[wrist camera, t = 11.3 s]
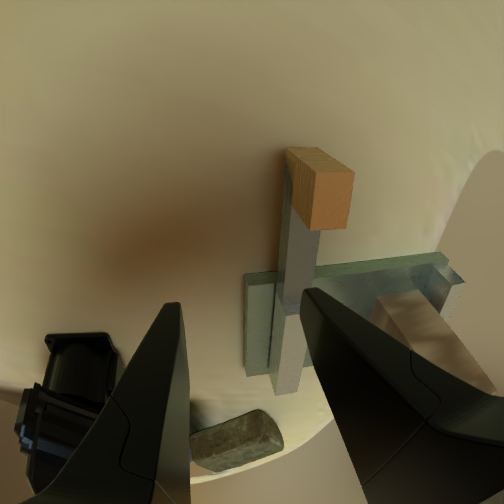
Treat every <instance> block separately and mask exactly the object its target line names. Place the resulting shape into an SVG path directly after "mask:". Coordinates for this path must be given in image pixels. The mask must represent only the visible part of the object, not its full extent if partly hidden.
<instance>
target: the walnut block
mask: <svg viewBox="0 0 504 504" xmlns="http://www.w3.org/2000/svg"><path fill="white" fill-rule="evenodd" d="M369 321H370V322H371V323H373V324H374V325H376V326H377V327H379V328H380V329H382V330H383V331H385V332H386V333H388V334H389V335H391V336H392V337H394V338H395V339H397V340H398V341H400V342H401V343H403V344H404V345H406V346H407V347H409V348H410V350H413V351H415V352H416V353H418V354H419V355H421V356H422V357H424V358H425V359H427V360H429V361H430V362H432V363H433V364H435V365H436V366H438V367H440V368H442V369H443V370H445V371H447V372H449V373H450V374H452V375H454V376H456V377H458V378H460V379H461V380H463V381H465V382H467V383H469V384H471V385H473V386H474V387H476V388H478V389H480V390H482V391H484V392H486V393H488V394H491V395H494V394H495V393H496V392H497V389H496V388H495V386H494V385H493V383H492V382H491V381H490V379H489V378H488V376H487V375H486V374H485V372H484V371H483V369H482V368H481V367H480V365H479V364H478V363H477V361H476V360H475V359H474V357H473V356H472V355H471V353H470V352H469V351H468V349H467V348H466V347H465V346H464V344H463V343H462V342H461V341H460V339H459V338H458V337H457V335H456V334H455V333H454V332H453V330H452V329H451V328H450V327H449V325H448V324H447V323H446V322H445V320H444V319H443V318H442V317H441V315H440V314H439V313H438V312H437V311H436V309H435V308H434V307H433V306H432V305H431V303H430V302H429V301H428V300H427V299H426V298H425V296H424V295H423V294H422V293H421V292H420V291H419V290H414V291H409V292H404V293H398V294H393V295H387V296H382V297H377V298H376V301H375V304H374V307H373V310H372V313H371V316H370V319H369Z"/></svg>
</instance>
